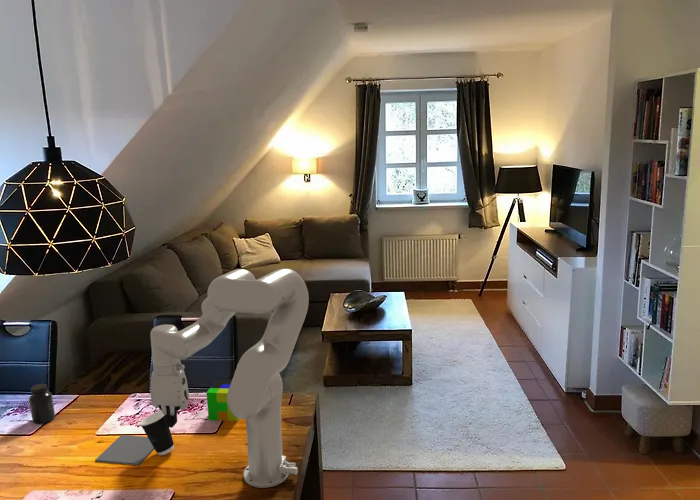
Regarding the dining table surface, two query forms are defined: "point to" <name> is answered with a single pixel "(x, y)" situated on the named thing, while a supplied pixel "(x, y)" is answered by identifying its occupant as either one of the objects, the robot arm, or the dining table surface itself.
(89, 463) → the dining table surface
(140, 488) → the dining table surface
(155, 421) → the dixie cup
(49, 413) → the supplement bottle
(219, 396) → the puzzle toy
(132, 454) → the charcoal mat
